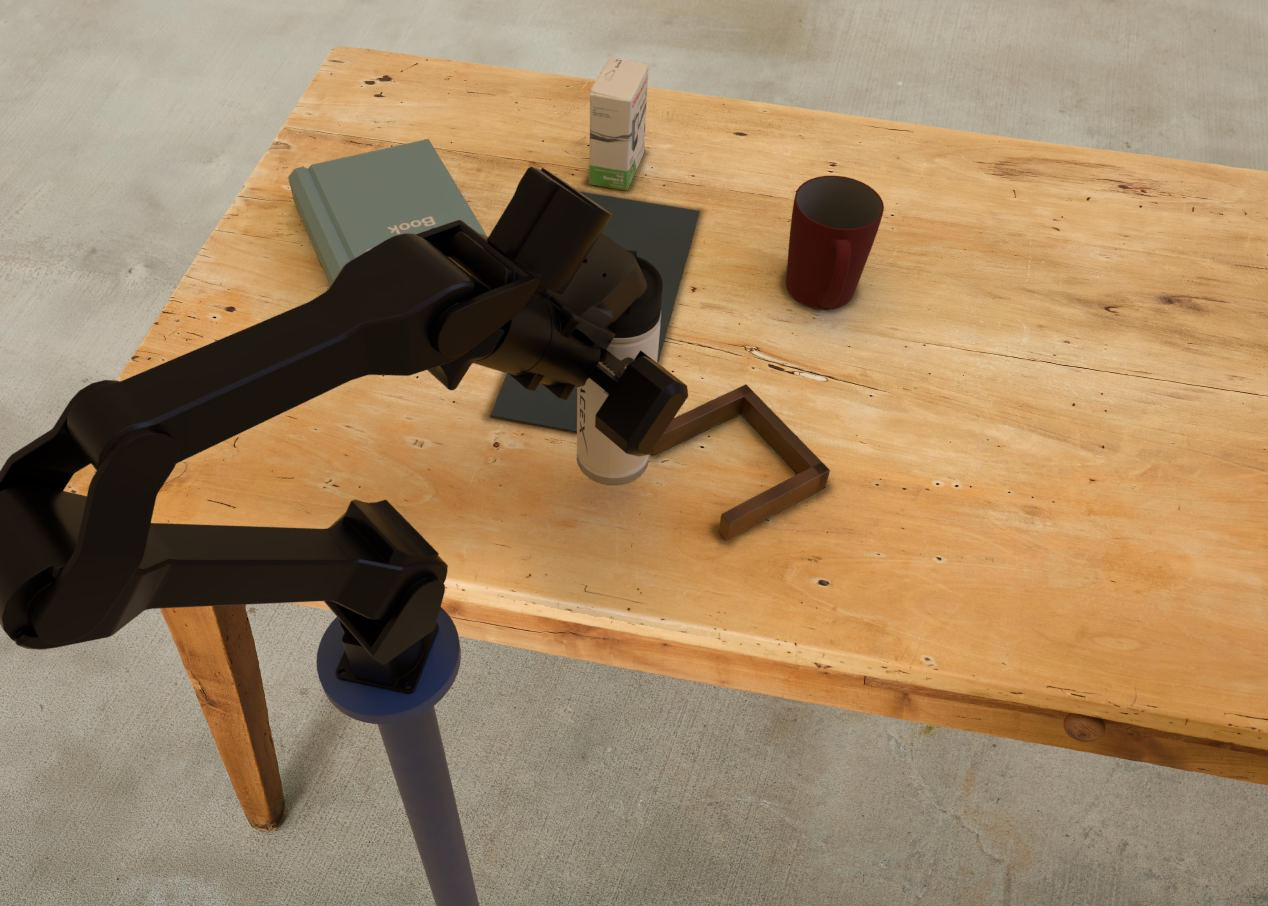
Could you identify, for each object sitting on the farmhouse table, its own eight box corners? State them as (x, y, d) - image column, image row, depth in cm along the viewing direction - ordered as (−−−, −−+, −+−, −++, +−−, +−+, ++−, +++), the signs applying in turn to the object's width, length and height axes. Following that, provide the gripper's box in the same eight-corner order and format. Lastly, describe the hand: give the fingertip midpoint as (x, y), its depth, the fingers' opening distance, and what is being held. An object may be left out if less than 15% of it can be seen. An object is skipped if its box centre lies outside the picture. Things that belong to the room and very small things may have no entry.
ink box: (627, 192, 123) (631, 101, 114) (586, 185, 123) (587, 93, 114) (645, 151, 128) (650, 61, 119) (606, 144, 129) (608, 54, 120)
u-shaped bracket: (726, 540, 91) (729, 523, 89) (646, 447, 98) (648, 429, 96) (825, 487, 95) (830, 470, 94) (743, 401, 102) (746, 383, 100)
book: (502, 294, 110) (499, 257, 107) (351, 336, 106) (342, 298, 102) (433, 176, 123) (428, 138, 120) (295, 208, 118) (286, 170, 115)
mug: (868, 337, 108) (893, 252, 100) (783, 333, 108) (800, 248, 100) (856, 262, 116) (878, 177, 108) (776, 258, 116) (791, 173, 108)
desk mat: (635, 444, 98) (635, 441, 98) (490, 417, 99) (490, 415, 99) (699, 212, 121) (699, 210, 121) (580, 193, 122) (580, 191, 122)
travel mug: (651, 435, 94) (667, 251, 79) (645, 491, 89) (660, 307, 75) (582, 427, 94) (584, 243, 79) (571, 483, 90) (572, 299, 75)
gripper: (680, 302, 66) (771, 351, 79) (493, 167, 74) (605, 232, 88) (584, 448, 68) (689, 470, 82) (413, 300, 76) (534, 343, 90)
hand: (628, 372), depth 85 cm, fingers closed on travel mug, 6 cm apart
